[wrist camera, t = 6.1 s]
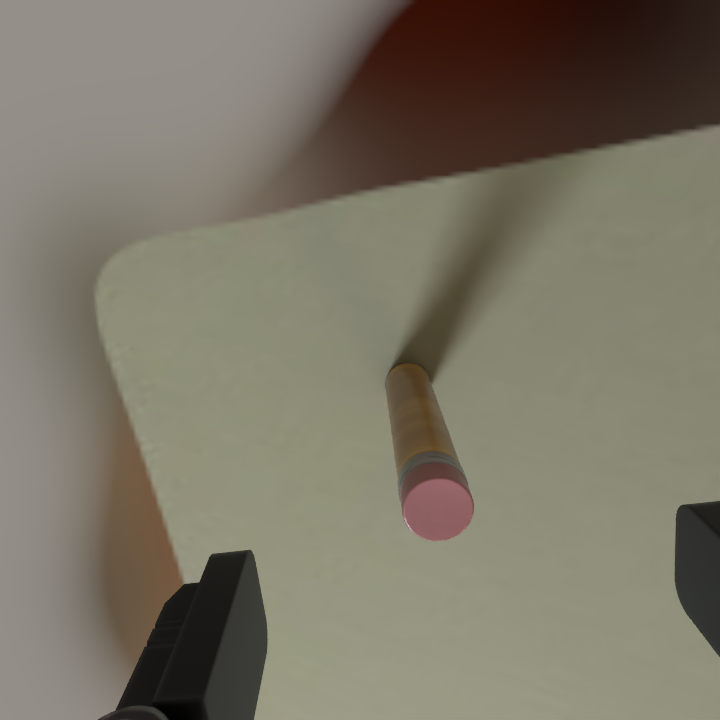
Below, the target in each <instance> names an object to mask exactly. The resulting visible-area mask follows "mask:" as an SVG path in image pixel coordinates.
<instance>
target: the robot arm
mask: <svg viewBox="0 0 720 720" xmlns="http://www.w3.org/2000/svg"><path fill="white" fill-rule="evenodd" d="M675 585H676V590H677V594H678V597H679V600H680V602H681V605H682V607H683V609H684V610H685V612H686V614H687V615H688V616H689V618H690V619H691V620H692V622H693V623H694V624H695V625H696V627H697V628H698V629H699V631H700V632H701V633H702V635H703V636H704V637H705V638H706V640H707V641H708V642H709V644H710V645H711V646H712V648H713V649H714V650H715V651H716V653H717V654H718V655H719V657H720V501H715V502H706V503H696V504H687V505H681V506H680V507H679V508H678V510H677V514H676V542H675ZM266 654H267V622H266V616H265V610H264V605H263V600H262V594H261V589H260V584H259V578H258V573H257V568H256V562H255V558H254V555H253V553H252V551H251V550H244V551H235V552H226V553H216V554H212V555H211V556H210V557H209V560H208V562H207V565H206V567H205V570H204V572H203V575H202V577H201V580H200V582H199V583H190V584H184V585H183V586H182V587H181V588H180V589H179V590H178V591H177V592H176V593H175V594H174V595H173V596H172V597H171V598H170V599H169V600H168V601H167V602H166V603H165V604H164V606H163V609H162V611H161V613H160V615H159V617H158V619H157V622H156V624H155V629H153V630H152V632H151V635H150V637H149V639H148V641H147V647H145V648H144V650H143V652H142V655H141V657H140V658H139V661H138V663H137V665H136V667H135V670H134V671H133V674H132V676H131V678H130V680H129V682H128V684H127V687H126V689H125V691H124V693H123V696H122V698H121V700H120V702H119V704H118V706H117V708H116V710H115V711H114V712H111V713H109V714H107V715H105V716H103V717H101V718H100V719H98V720H254V715H255V710H256V705H257V700H258V695H259V690H260V685H261V680H262V675H263V669H264V664H265V659H266Z"/></svg>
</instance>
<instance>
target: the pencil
mask: <svg viewBox="0 0 720 720" xmlns="http://www.w3.org/2000/svg"><path fill="white" fill-rule="evenodd" d="M385 386H386V394H387V402H388V409H389V417H390V424H391V432H392V439H393V447H394V454H395V462H396V469H397V477H398V491H399V497H400V501H401V507H402V514H403V518H404V521H405V523H406V525H407V526H408V528H409V529H410V530H411V531H412V532H413V533H415V534H416V535H418V536H419V537H421V538H424V539H427V540H432V541H442V540H447V539H451V538H453V537H455V536H457V535H459V534H460V533H461V532H462V531H463V530H465V528H466V527H467V526H468V524H469V523H470V521H471V519H472V516H473V512H474V503H473V499H472V496H471V493H470V490H469V487H468V482H467V479H466V477H465V474H464V471H463V469H462V467H461V465H460V462H459V460H458V457H457V454H456V451H455V449H454V446H453V443H452V440H451V438H450V435H449V432H448V429H447V426H446V424H445V421H444V418H443V415H442V413H441V410H440V407H439V404H438V402H437V399H436V396H435V393H434V390H433V388H432V385H431V382H430V379H429V377H428V374H427V373H426V371H425V370H424V369H423V368H422V367H420V366H418V365H416V364H413V363H403V364H400V365H398V366H396V367H394V368H393V369H392V370H391V371H390V372H389V374H388V376H387V378H386V383H385Z"/></svg>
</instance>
